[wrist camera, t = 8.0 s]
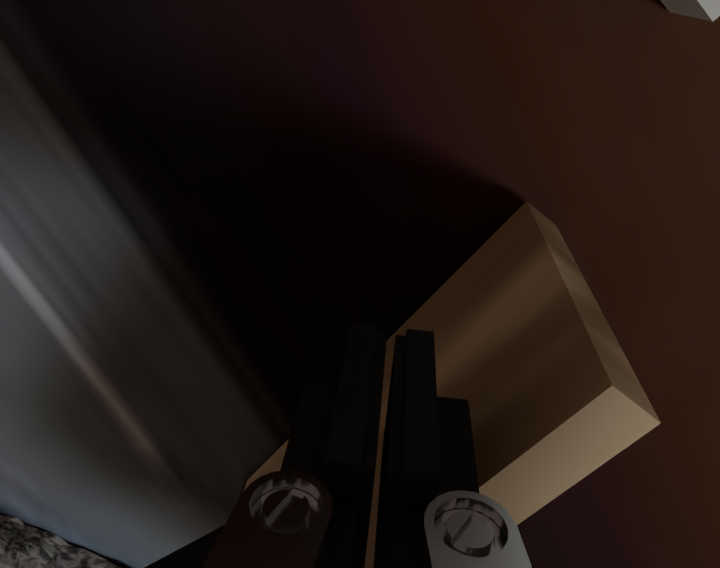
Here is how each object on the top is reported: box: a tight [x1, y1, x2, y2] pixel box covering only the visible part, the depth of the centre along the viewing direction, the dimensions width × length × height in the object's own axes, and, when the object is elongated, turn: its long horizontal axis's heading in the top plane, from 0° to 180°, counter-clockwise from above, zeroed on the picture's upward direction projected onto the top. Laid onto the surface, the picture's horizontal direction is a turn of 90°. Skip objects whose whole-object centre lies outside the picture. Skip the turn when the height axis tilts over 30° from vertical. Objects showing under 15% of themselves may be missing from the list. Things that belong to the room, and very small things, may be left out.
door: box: [238, 201, 660, 568], centre depth 18 cm, size 3×16×9 cm, turn 142°
